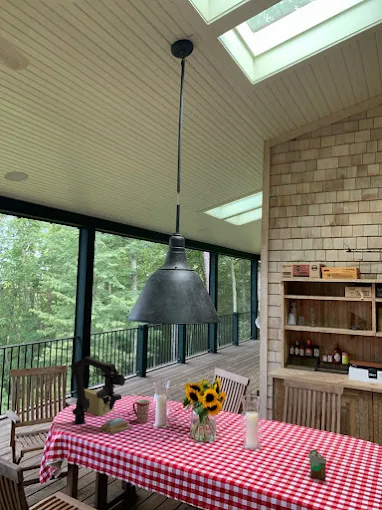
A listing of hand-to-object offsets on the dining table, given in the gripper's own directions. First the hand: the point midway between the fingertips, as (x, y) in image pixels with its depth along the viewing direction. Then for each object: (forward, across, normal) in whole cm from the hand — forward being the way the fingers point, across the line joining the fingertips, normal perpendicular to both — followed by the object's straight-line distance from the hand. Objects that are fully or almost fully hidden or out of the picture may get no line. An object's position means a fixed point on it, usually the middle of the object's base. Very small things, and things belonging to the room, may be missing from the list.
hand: (108, 409), depth 254 cm
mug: (+12, +4, +23) cm, 27 cm away
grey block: (+11, +4, +3) cm, 12 cm away
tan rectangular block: (+1, 0, 0) cm, 1 cm away
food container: (+15, +124, +30) cm, 128 cm away
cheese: (+11, -34, +12) cm, 38 cm away
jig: (+12, +4, +2) cm, 12 cm away
